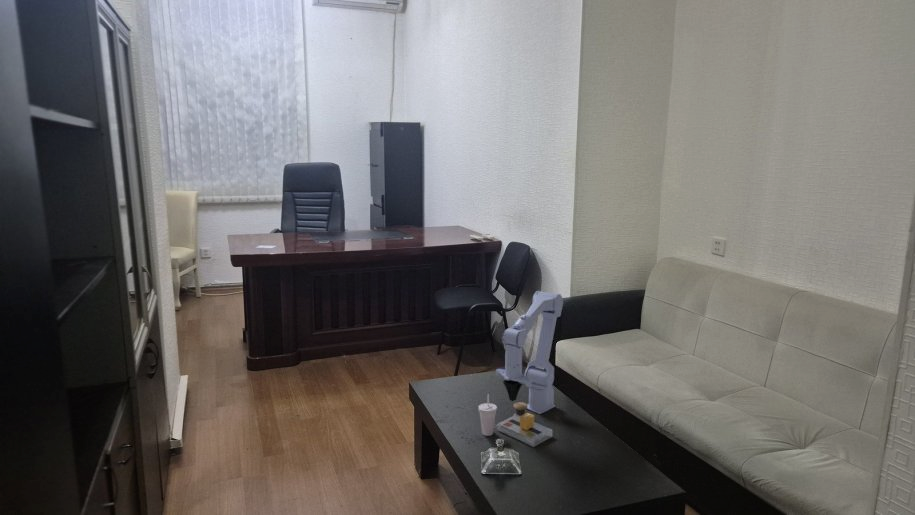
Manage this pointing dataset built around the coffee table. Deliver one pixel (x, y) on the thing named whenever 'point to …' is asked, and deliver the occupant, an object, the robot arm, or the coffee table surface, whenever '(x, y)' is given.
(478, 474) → the coffee table surface
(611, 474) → the coffee table surface
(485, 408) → the smoothie
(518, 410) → the reel
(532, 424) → the toggle
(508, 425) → the panel
